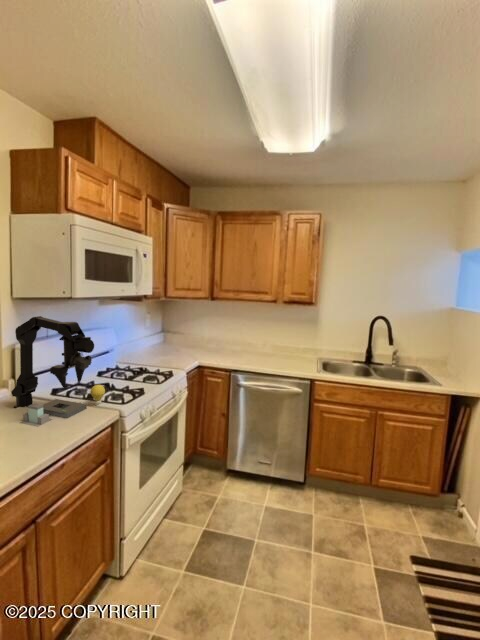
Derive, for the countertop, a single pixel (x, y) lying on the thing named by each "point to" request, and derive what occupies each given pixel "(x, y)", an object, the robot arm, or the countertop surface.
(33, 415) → the plug
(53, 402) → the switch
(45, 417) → the holster
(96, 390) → the light bulb
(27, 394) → the robot arm
